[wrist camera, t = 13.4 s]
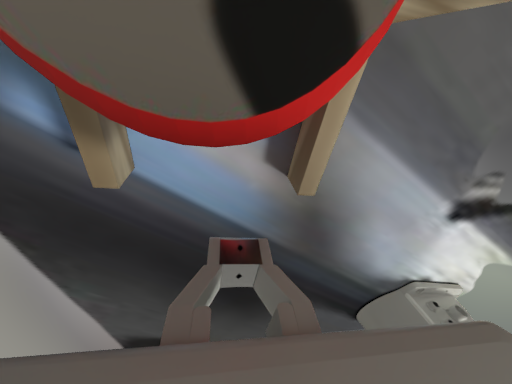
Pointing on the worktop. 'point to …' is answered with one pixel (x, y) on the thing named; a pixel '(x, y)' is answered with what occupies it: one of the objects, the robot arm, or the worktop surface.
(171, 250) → the worktop surface
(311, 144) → the shelf
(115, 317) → the worktop surface
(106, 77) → the soda can
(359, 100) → the worktop surface
